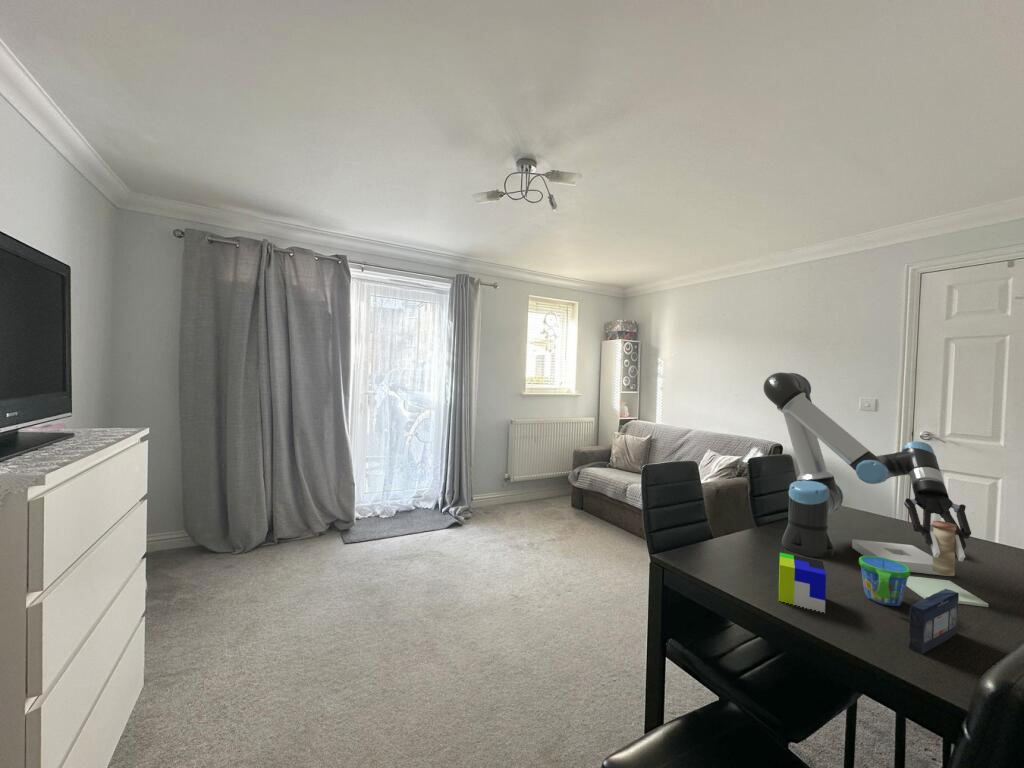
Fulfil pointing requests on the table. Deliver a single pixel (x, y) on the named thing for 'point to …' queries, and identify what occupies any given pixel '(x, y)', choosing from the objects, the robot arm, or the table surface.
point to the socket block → (897, 554)
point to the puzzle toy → (802, 582)
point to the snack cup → (884, 579)
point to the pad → (932, 586)
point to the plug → (944, 548)
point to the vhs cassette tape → (933, 620)
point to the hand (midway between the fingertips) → (949, 556)
